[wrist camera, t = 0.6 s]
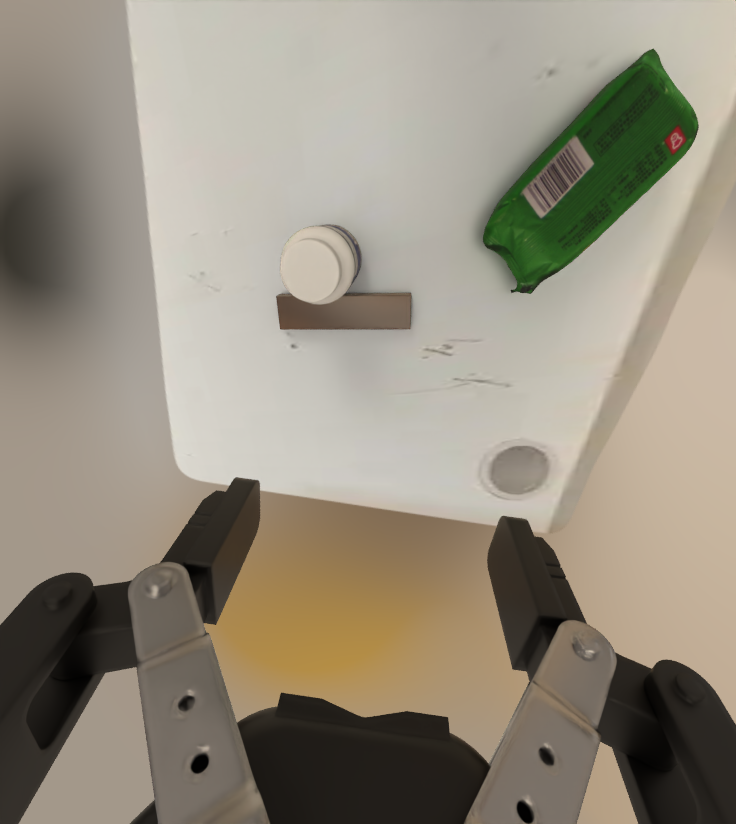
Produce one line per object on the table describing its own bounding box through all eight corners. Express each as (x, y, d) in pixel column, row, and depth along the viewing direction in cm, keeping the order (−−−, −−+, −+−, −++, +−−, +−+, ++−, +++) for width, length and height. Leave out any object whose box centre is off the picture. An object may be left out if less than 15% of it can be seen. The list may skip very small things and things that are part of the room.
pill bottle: (310, 295, 36) (282, 319, 28) (293, 232, 34) (257, 237, 25) (368, 283, 36) (357, 304, 27) (354, 217, 33) (338, 218, 25)
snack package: (460, 233, 33) (470, 237, 29) (631, 49, 27) (678, 16, 23) (515, 292, 35) (533, 305, 30) (686, 131, 29) (741, 116, 25)
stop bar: (279, 293, 37) (276, 296, 35) (411, 292, 36) (411, 295, 35) (283, 326, 38) (280, 329, 37) (410, 326, 37) (410, 329, 36)
